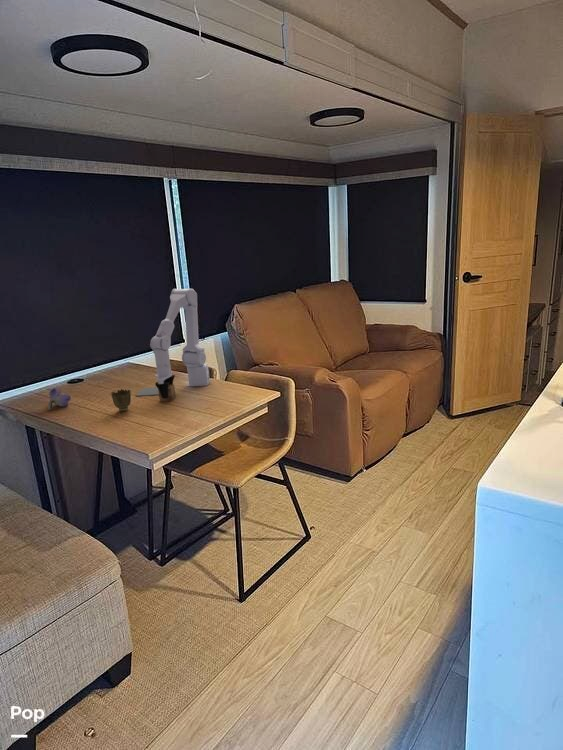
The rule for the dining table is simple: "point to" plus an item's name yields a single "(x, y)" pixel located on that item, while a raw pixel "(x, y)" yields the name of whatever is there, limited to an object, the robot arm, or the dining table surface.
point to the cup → (122, 399)
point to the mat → (148, 391)
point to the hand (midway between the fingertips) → (167, 395)
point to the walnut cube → (170, 393)
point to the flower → (58, 398)
